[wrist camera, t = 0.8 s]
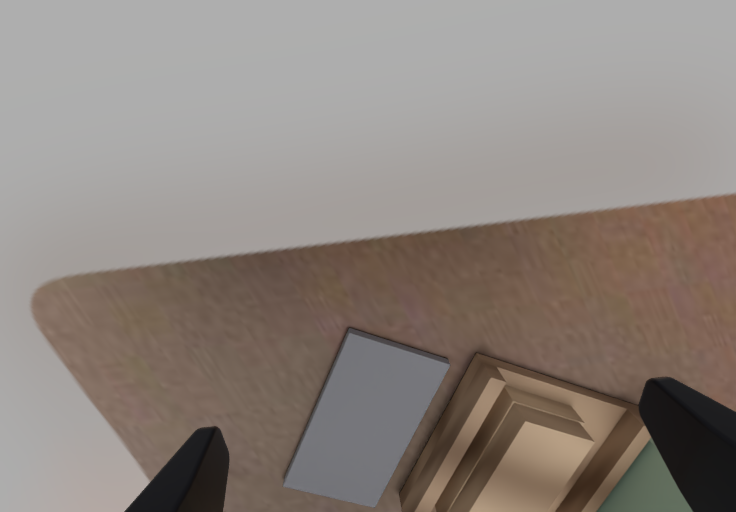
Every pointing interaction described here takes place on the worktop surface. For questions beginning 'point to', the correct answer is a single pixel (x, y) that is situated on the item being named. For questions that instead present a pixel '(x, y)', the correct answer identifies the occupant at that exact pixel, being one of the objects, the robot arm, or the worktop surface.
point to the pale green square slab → (646, 487)
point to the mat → (364, 418)
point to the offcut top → (525, 463)
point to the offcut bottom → (489, 430)
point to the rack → (488, 377)
